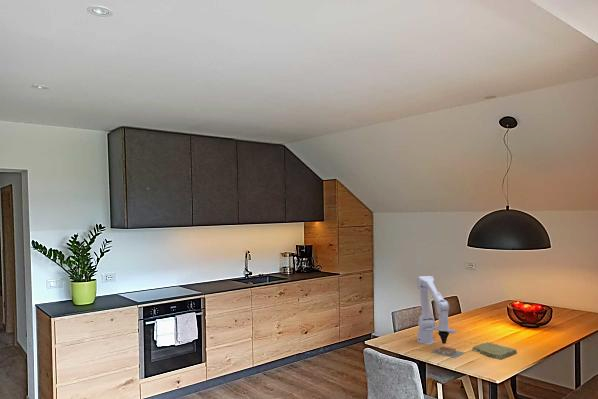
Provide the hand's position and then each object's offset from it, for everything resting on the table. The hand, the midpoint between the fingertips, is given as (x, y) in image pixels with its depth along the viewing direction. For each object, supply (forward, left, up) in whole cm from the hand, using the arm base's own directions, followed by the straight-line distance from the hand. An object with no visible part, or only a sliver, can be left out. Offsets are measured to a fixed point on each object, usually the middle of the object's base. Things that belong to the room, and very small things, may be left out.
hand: (444, 343), depth 276 cm
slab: (-2, 0, -4) cm, 5 cm away
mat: (+2, +1, -6) cm, 6 cm away
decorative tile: (+22, +20, -7) cm, 30 cm away
